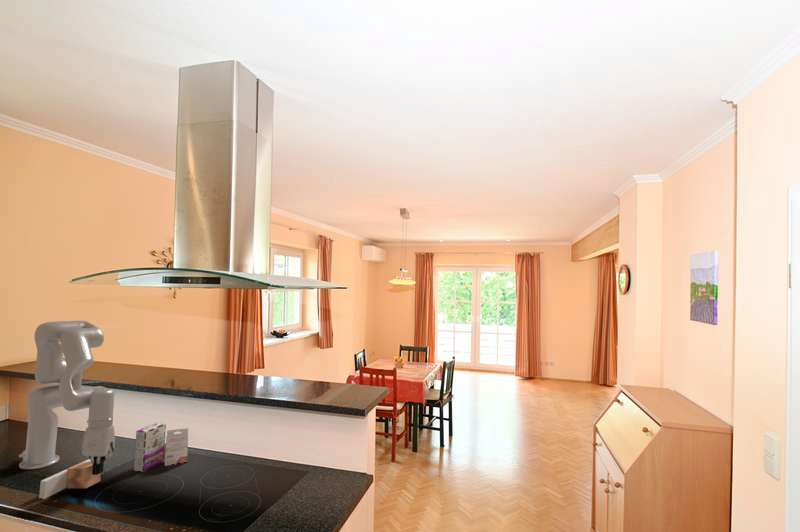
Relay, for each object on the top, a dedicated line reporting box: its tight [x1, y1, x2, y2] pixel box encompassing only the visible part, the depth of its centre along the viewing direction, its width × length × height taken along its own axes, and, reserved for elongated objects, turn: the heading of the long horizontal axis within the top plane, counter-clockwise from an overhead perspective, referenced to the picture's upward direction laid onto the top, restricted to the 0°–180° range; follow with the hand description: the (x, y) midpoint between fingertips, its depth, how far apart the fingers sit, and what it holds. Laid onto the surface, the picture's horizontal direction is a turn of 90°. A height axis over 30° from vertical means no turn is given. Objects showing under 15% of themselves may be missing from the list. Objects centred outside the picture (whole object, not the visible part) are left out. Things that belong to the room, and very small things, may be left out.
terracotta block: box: [66, 461, 101, 489], centre depth 153 cm, size 8×6×7 cm
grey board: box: [38, 458, 91, 500], centre depth 154 cm, size 2×22×6 cm, turn 172°
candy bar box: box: [133, 422, 167, 473], centre depth 171 cm, size 11×5×16 cm, turn 168°
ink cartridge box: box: [164, 427, 189, 467], centre depth 176 cm, size 9×5×15 cm, turn 117°
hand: (97, 473), depth 152 cm, fingers closed
